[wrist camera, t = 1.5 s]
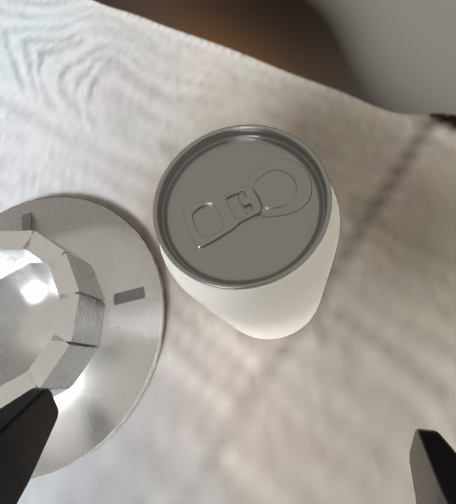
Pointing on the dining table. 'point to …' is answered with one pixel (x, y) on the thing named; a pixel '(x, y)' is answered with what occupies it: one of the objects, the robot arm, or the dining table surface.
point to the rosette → (77, 319)
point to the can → (249, 227)
